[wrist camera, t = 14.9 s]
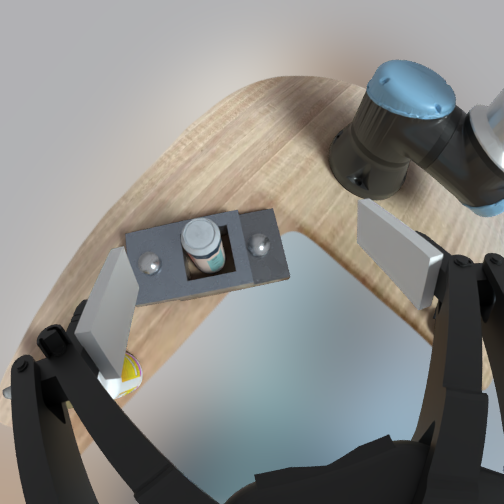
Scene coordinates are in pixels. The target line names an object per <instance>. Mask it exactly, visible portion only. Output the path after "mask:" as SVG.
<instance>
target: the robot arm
mask: <svg viewBox="0 0 504 504" xmlns="http://www.w3.org/2000/svg"><path fill="white" fill-rule="evenodd" d="M411 160H412V161H413V162H414V163H416V164H417V165H418V166H420V167H421V168H422V169H424V170H425V171H426V172H427V173H428V174H430V175H431V176H432V177H433V178H434V179H436V180H437V181H438V182H439V183H440V184H441V185H443V186H444V187H445V188H446V189H447V190H448V191H449V192H450V193H452V194H453V195H454V196H455V197H456V198H457V199H458V200H459V201H460V202H461V203H462V204H463V205H464V206H466V207H468V208H469V209H470V210H472V211H473V212H474V213H475V214H477V215H479V216H482V217H492V216H496V215H498V214H500V213H502V212H504V89H503V90H502V91H501V92H500V94H499V95H498V96H497V97H496V98H495V99H494V101H493V102H492V103H491V104H490V105H489V106H484V105H476V106H474V107H473V108H472V109H471V110H470V111H469V112H468V114H466V113H465V112H464V111H463V110H462V109H460V108H459V107H458V106H456V97H455V94H454V91H453V90H452V88H451V87H450V86H449V85H447V84H446V81H445V80H444V79H443V78H442V77H441V76H440V75H439V74H437V73H436V72H434V71H433V70H431V69H429V68H427V67H425V66H423V65H421V64H418V63H415V62H412V61H407V60H391V61H388V62H385V63H383V64H382V65H380V66H379V67H378V69H377V70H376V72H375V74H374V76H373V77H372V79H371V80H370V81H369V82H368V85H367V90H366V93H365V95H364V97H363V99H362V102H361V104H360V106H359V108H358V111H357V113H356V115H355V117H354V119H353V122H351V123H350V124H349V125H348V126H346V127H345V128H344V129H343V130H341V131H340V132H339V133H338V134H337V135H336V137H335V138H334V140H333V142H332V144H331V147H330V150H329V164H330V167H331V170H332V172H333V174H334V176H335V177H336V179H337V180H338V181H339V182H340V183H341V184H342V185H343V186H344V187H345V188H346V189H347V190H348V191H350V192H351V193H353V194H355V195H357V196H359V197H361V198H364V199H362V200H358V224H357V243H358V244H359V245H360V246H361V248H362V249H363V250H364V251H365V252H366V253H367V254H368V255H369V256H370V257H371V258H372V259H373V260H374V261H375V262H376V263H377V264H378V265H379V267H380V268H381V269H382V270H383V271H384V272H385V273H386V274H387V275H388V276H389V277H390V279H391V280H392V281H393V282H394V283H395V284H396V285H397V286H398V287H399V289H400V290H401V291H402V292H403V293H404V294H405V295H406V296H407V298H408V299H409V300H410V301H411V302H412V303H413V304H414V306H415V307H416V308H417V309H418V310H421V309H423V308H426V307H429V306H431V304H432V300H433V296H434V295H435V296H436V297H437V298H438V303H437V307H436V310H435V313H434V317H433V319H435V318H436V321H435V331H434V339H433V347H432V354H431V361H430V368H429V374H428V379H427V385H426V390H425V394H424V399H423V404H422V408H421V412H420V416H419V421H418V424H417V428H416V431H415V433H414V435H413V437H412V439H411V441H410V440H397V441H392V440H391V438H390V436H389V435H387V436H384V437H382V438H379V439H377V440H374V441H372V442H369V443H367V444H364V445H361V446H359V447H357V448H356V449H354V450H353V451H351V452H349V453H348V454H346V455H345V456H343V457H341V458H340V459H338V460H336V461H335V462H333V463H331V464H329V465H327V466H315V467H289V468H285V469H280V470H276V471H271V472H266V473H261V474H256V475H254V476H255V480H256V481H255V482H253V483H251V484H249V485H247V486H245V487H244V488H242V489H240V490H239V491H237V492H236V493H234V494H233V495H232V496H231V497H230V498H229V499H228V500H227V501H226V502H225V504H504V474H502V473H499V472H496V471H493V470H490V469H487V468H484V467H481V461H482V456H483V449H484V443H485V434H486V426H487V415H488V395H487V394H486V393H482V338H483V341H484V344H485V348H486V351H487V355H488V359H489V362H490V366H491V370H492V374H493V378H494V383H495V387H496V392H497V397H498V402H499V407H500V413H501V420H502V426H503V432H504V258H503V257H502V256H501V255H499V254H496V253H495V254H494V253H488V254H486V255H485V258H484V261H483V263H473V261H472V260H471V259H470V258H468V257H466V256H463V255H451V254H449V253H448V252H447V251H446V250H444V249H443V248H442V247H441V246H439V245H438V244H436V243H435V242H434V241H433V240H431V239H430V238H429V237H428V236H426V235H425V234H423V233H421V232H418V231H414V230H412V229H411V228H410V227H408V226H407V225H406V224H404V223H403V222H402V221H400V220H399V219H398V218H396V217H395V216H394V215H392V214H391V213H389V212H388V211H387V210H385V209H384V208H382V207H381V206H380V205H378V204H377V203H375V202H374V201H372V200H383V199H387V198H389V197H391V196H392V195H394V194H395V193H396V192H397V191H398V190H399V189H400V187H401V186H402V185H403V183H404V181H405V178H406V174H407V168H408V166H409V163H410V161H411ZM138 291H139V285H138V283H137V280H136V278H135V275H134V273H133V270H132V268H131V265H130V262H129V260H128V257H127V254H126V251H125V249H124V246H122V247H118V248H114V249H111V251H110V253H109V255H108V257H107V259H106V261H105V263H104V265H103V267H102V269H101V271H100V274H99V276H98V278H97V280H96V282H95V285H94V287H93V289H92V291H91V294H90V296H89V298H88V299H87V300H83V301H82V302H81V303H80V304H79V305H78V306H77V308H76V310H75V312H74V315H73V317H72V319H71V323H70V324H69V326H68V329H67V331H66V332H65V330H64V329H63V327H62V326H61V325H58V324H55V325H51V326H49V327H47V328H45V329H44V330H43V331H42V332H41V333H40V334H39V336H38V338H37V345H38V346H39V348H40V349H41V351H42V352H43V353H44V355H45V356H46V357H47V358H45V359H42V360H39V361H37V362H36V361H35V360H34V359H33V357H32V356H30V355H23V356H21V357H20V358H18V359H17V360H16V361H15V362H14V364H13V366H12V368H11V407H12V422H13V433H14V442H15V450H16V457H17V463H18V469H19V475H20V480H21V484H22V489H23V493H24V497H25V501H26V504H99V503H98V501H97V499H96V496H95V494H94V491H93V489H92V486H91V484H90V482H89V479H88V476H87V473H86V470H85V468H84V465H83V462H82V459H81V456H80V453H79V449H78V446H77V443H76V439H75V436H74V432H73V429H72V425H71V421H70V417H69V413H68V409H67V405H66V401H70V403H71V405H72V406H73V408H74V410H75V411H76V413H77V415H78V416H79V418H80V420H81V421H82V423H83V424H84V426H85V427H86V429H87V431H88V432H89V434H90V435H91V437H92V438H93V440H94V441H95V442H96V444H97V445H98V447H99V448H100V449H101V451H102V452H103V454H104V455H105V456H106V458H107V459H108V461H109V462H110V463H111V465H112V466H113V467H114V468H115V470H116V471H117V472H118V474H119V475H120V476H121V477H122V478H123V480H124V481H125V482H126V483H127V485H128V486H129V487H130V488H131V489H132V491H133V492H134V497H135V499H136V501H137V502H138V503H139V504H219V503H218V502H217V501H215V500H214V499H213V498H212V497H210V496H209V495H208V494H207V493H205V492H204V491H203V490H202V489H201V488H199V487H198V486H197V485H195V483H194V482H192V481H191V480H190V479H189V478H188V477H186V475H184V474H183V473H182V472H181V471H180V470H179V469H178V468H177V467H176V466H174V464H173V463H172V462H170V461H169V460H168V459H167V458H166V457H165V456H164V455H163V454H162V453H161V452H160V451H159V450H158V449H157V448H156V447H155V446H154V445H153V444H152V443H151V442H150V440H149V439H148V438H147V437H146V436H145V435H144V434H143V433H142V432H141V431H140V430H139V429H138V428H137V427H136V425H135V424H134V423H133V422H132V421H131V420H130V418H129V417H128V416H127V415H126V414H125V413H124V411H123V410H122V409H121V408H120V407H119V405H118V404H117V403H116V402H115V401H114V399H113V398H112V397H111V395H110V394H109V393H108V392H107V390H106V389H105V388H104V386H103V385H102V384H101V383H100V381H99V380H98V374H99V371H100V373H101V374H102V376H103V377H104V378H105V380H107V379H119V378H121V374H122V369H123V363H124V357H125V352H126V347H127V341H128V336H129V332H130V327H131V322H132V317H133V313H134V308H135V304H136V300H137V296H138ZM503 471H504V466H503Z"/></svg>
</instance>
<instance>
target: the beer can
mask: <svg viewBox="0 0 504 504" xmlns="http://www.w3.org/2000/svg"><path fill="white" fill-rule="evenodd" d="M181 242H182V245H183V247H184V249H185V250H186V252H187V253H188V255H189V256H190V258H191V259H192V260H193V262H194V263H195V265H196V266H197V268H198V269H199V270H200V271H202V272H204V273H207V274H213V273H216V272H218V271H219V270H221V269H222V267H223V266H224V264H225V261H226V255H225V252H224V248H223V244H222V240H221V236H220V231H219V228H218V226H217V225H216V224H215V223H214V222H213V221H212V220H210V219H207V218H196V219H193V220H191V221H190V222H188V223H187V224H186V225H185V226H184V228H183V230H182V233H181Z"/></svg>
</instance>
